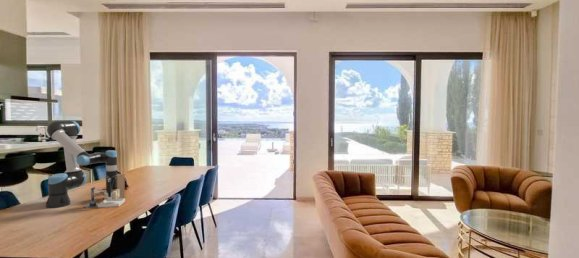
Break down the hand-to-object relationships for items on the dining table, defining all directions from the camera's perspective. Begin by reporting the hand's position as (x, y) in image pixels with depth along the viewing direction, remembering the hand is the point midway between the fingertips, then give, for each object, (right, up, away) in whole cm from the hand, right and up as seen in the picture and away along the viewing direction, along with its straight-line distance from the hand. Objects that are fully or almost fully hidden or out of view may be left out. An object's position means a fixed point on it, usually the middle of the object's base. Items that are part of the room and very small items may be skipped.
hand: (112, 199), depth 239 cm
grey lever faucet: (-12, -4, -5) cm, 13 cm away
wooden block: (-7, -3, +16) cm, 18 cm away
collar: (0, +1, 0) cm, 1 cm away
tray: (0, -4, 0) cm, 4 cm away
